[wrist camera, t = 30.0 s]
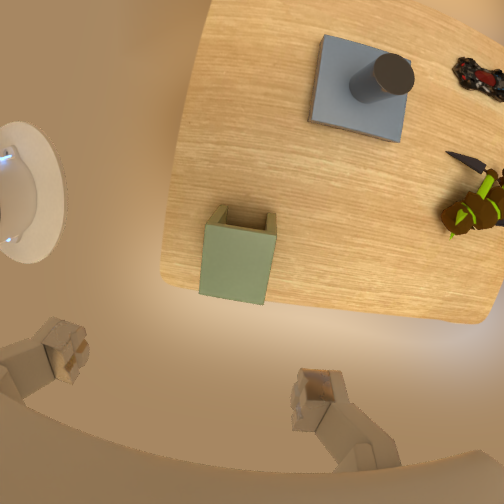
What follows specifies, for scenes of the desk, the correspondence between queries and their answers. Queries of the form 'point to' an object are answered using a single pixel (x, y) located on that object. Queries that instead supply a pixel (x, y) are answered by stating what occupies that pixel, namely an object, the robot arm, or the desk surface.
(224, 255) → the sage green stool
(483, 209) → the goblin
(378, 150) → the desk surface
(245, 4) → the desk surface
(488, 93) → the toy car
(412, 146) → the desk surface
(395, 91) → the glossy brown cylinder
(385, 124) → the low gray rectangular block
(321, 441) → the robot arm
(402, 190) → the desk surface
